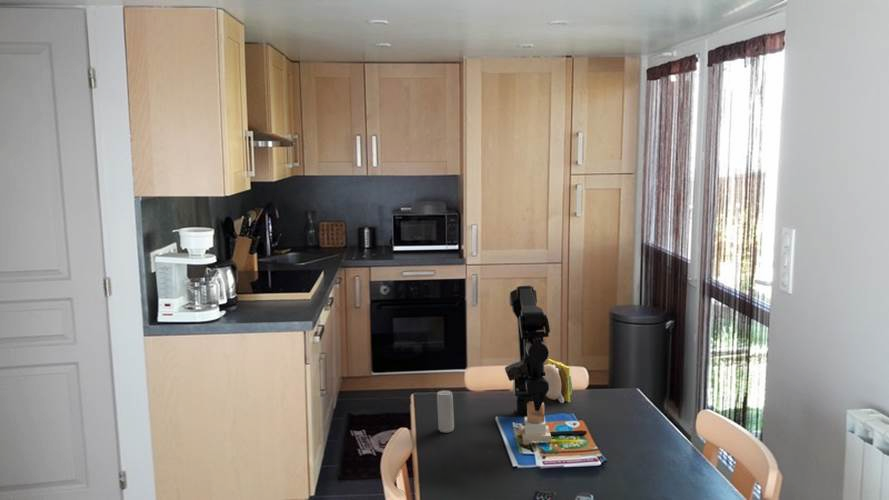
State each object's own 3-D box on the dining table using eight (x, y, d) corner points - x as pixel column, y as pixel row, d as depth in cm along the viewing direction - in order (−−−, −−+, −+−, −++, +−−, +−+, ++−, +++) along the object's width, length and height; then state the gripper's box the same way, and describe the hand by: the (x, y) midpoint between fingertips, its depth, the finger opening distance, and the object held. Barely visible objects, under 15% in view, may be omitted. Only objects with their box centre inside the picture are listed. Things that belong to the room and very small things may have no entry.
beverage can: (452, 433, 215) (450, 395, 214) (437, 432, 216) (435, 395, 215) (455, 427, 220) (453, 390, 219) (440, 427, 221) (438, 390, 220)
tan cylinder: (534, 416, 212) (534, 400, 211) (547, 420, 208) (547, 403, 208) (523, 420, 208) (523, 404, 208) (537, 424, 205) (537, 407, 204)
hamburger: (535, 395, 247) (534, 361, 245) (555, 390, 250) (555, 358, 249) (555, 405, 236) (554, 370, 234) (575, 400, 239) (574, 366, 238)
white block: (525, 426, 212) (524, 416, 212) (545, 426, 211) (544, 416, 211) (525, 434, 206) (524, 424, 206) (545, 434, 205) (545, 424, 205)
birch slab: (521, 435, 213) (521, 426, 212) (548, 434, 213) (547, 425, 212) (523, 446, 205) (523, 436, 205) (551, 445, 205) (551, 435, 204)
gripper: (504, 346, 215) (506, 395, 217) (508, 363, 197) (510, 417, 199) (541, 344, 215) (542, 394, 217) (548, 362, 196) (549, 416, 198)
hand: (535, 405), depth 208 cm, fingers open, 9 cm apart
